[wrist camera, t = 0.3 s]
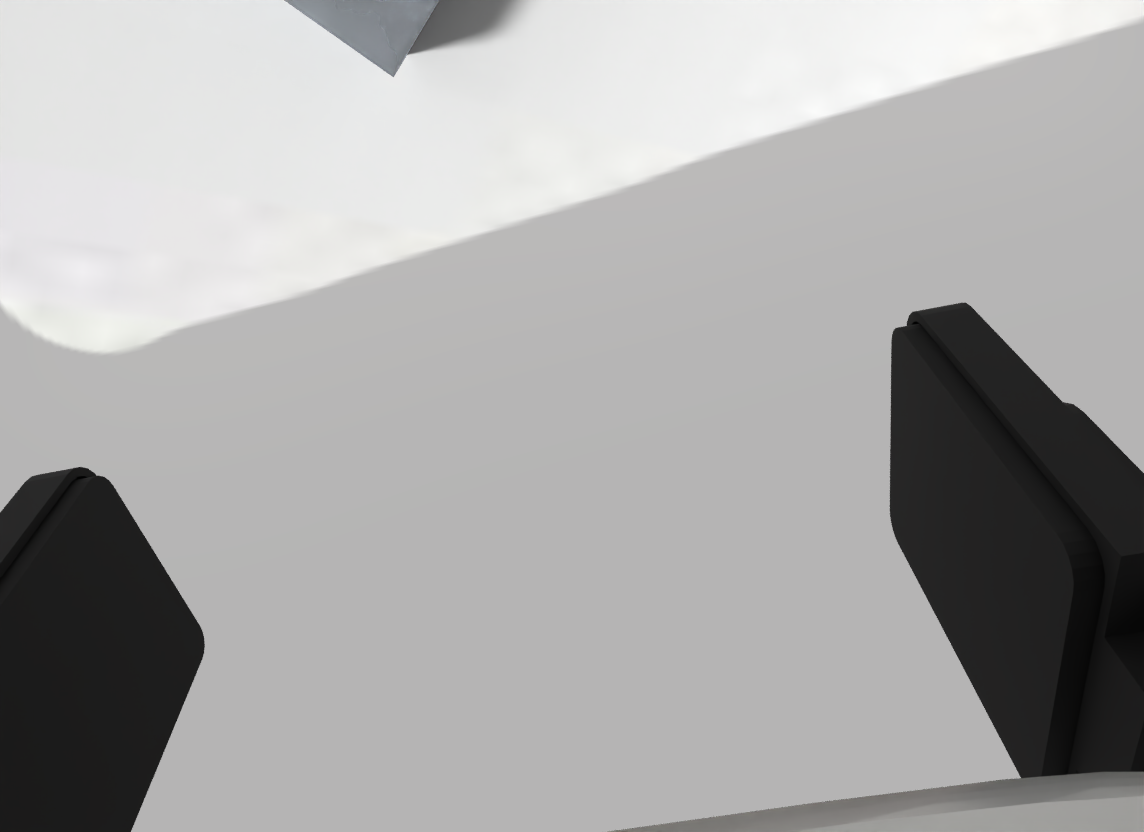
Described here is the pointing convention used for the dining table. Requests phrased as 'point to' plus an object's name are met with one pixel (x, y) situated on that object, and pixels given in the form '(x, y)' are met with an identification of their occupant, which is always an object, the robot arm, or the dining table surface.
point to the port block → (372, 25)
